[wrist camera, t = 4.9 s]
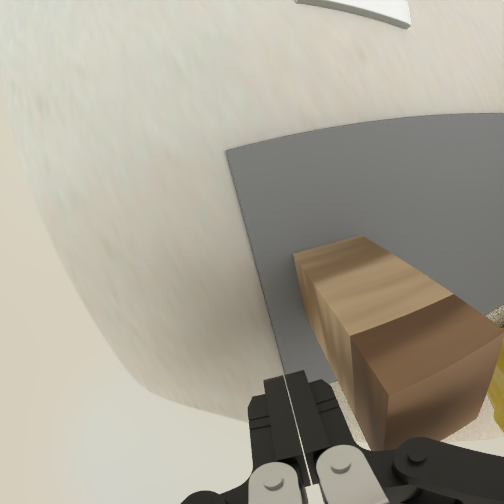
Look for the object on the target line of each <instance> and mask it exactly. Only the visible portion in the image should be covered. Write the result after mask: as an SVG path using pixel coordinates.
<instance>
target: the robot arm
mask: <svg viewBox="0 0 504 504" xmlns="http://www.w3.org/2000/svg"><path fill="white" fill-rule="evenodd" d="M285 378H286V382H287V386H288V390H289V394H290V398H291V402H292V406H293V410H294V414H295V418H296V422H297V425H298V429H299V433H300V437H301V441H302V445H303V449H304V453H305V457H306V461H307V464H308V468H309V472H310V476H311V479H312V483H313V484H318V483H319V486H320V489H321V493H322V497H323V502H324V504H504V457H501V456H496V455H491V454H487V453H482V452H478V451H474V450H470V449H465V448H462V447H458V446H454V445H451V444H447V443H444V442H440V441H437V440H433V439H430V438H426V437H414V438H411V439H408V440H406V441H404V442H403V443H402V444H401V445H400V446H399V447H398V448H397V449H393V450H384V451H369V450H366V449H363V448H361V447H360V446H359V445H357V444H356V442H355V441H354V439H353V437H352V435H351V432H350V430H349V428H348V425H347V423H346V420H345V418H344V416H343V413H342V411H341V408H340V407H339V404H338V401H337V399H336V397H335V394H334V392H333V390H332V387H331V386H330V385H329V384H327V383H326V382H325V381H324V380H322V379H320V380H316V381H313V382H309V383H308V380H307V377H306V374H305V371H304V370H301V371H297V372H293V373H290V374H286V375H285ZM264 388H265V394H263V395H259V396H254V397H252V399H251V401H250V404H249V406H248V418H249V427H250V439H251V448H252V458H253V470H252V473H251V475H250V477H249V478H248V479H247V481H246V482H245V483H243V484H242V485H240V486H239V487H237V488H234V489H232V490H230V491H227V492H225V493H222V494H217V493H215V492H212V491H199V492H195V493H193V494H191V495H189V496H188V497H187V498H186V499H185V500H184V501H183V502H182V503H181V504H308V498H307V494H306V489H305V487H306V486H310V485H311V484H310V480H309V476H308V472H307V468H306V464H305V460H304V456H303V451H302V447H301V444H300V440H299V435H298V431H297V427H296V423H295V419H294V415H293V412H292V408H291V404H290V400H289V396H288V393H287V389H286V385H285V381H284V378H283V375H282V376H279V377H275V378H270V379H266V380H264Z"/></svg>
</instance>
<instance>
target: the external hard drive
mask: <svg viewBox="0 0 504 504" xmlns="http://www.w3.org/2000/svg"><path fill="white" fill-rule="evenodd" d="M295 2H296V3H301V4H308V5H314V6H320V7H326V8H331V9H336V10H340V11H345V12H349V13H353V14H358V15H361V16H365V17H369V18H373V19H376V20H379V21H383V22H386V23H389V24H392V25H395V26H398V27H401V28H404V29H407V28H409V27H411V25H412V24H411V18H410V12H409V7H408V2H407V0H295Z"/></svg>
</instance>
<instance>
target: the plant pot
mask: <svg viewBox="0 0 504 504" xmlns="http://www.w3.org/2000/svg"><path fill="white" fill-rule="evenodd" d="M501 329H503V330H504V327H502V328H501ZM487 396H488V398H489V400H490V402H491V404H492V406H493V408H494V410H495V411H494V420H495V421H496V423H497V424H498V425H499V427H500V428H501V429H502V431H503V432H504V338H503V342H502V346H501V350H500V354H499V357H498V361H497V364H496V367H495V370H494V373H493V377H492V380H491V382H490V385H489V388H488V391H487Z"/></svg>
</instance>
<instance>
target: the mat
mask: <svg viewBox="0 0 504 504" xmlns="http://www.w3.org/2000/svg"><path fill="white" fill-rule="evenodd" d="M226 153H227V157H228V161H229V164H230V168H231V172H232V176H233V179H234V183H235V187H236V191H237V194H238V198H239V202H240V206H241V209H242V213H243V217H244V221H245V224H246V228H247V232H248V236H249V239H250V243H251V247H252V251H253V254H254V258H255V262H256V266H257V269H258V273H259V277H260V281H261V284H262V288H263V292H264V296H265V299H266V303H267V307H268V311H269V314H270V318H271V322H272V326H273V330H274V333H275V337H276V341H277V345H278V348H279V352H280V356H281V360H282V363H283V367H284V371H285V375H286V374H290V373H293V372H297V371H301V370H304V371H305V374H306V377H307V380H308V383H309V382H313V381H316V380H320V379H322V380H324V381H325V382H326V383H327V384H329V383H332V382H335V381H337V379H336V377H335V375H334V372H333V370H332V368H331V366H330V364H329V362H328V360H327V358H326V356H325V354H324V352H323V350H322V348H321V346H320V344H319V342H318V340H317V338H316V336H315V334H314V332H313V330H312V328H311V326H310V324H309V322H308V320H307V318H306V315H305V310H304V305H303V300H302V295H301V290H300V285H299V281H298V276H297V271H296V267H295V262H294V257H293V254H294V253H298V252H301V251H305V250H308V249H312V248H316V247H319V246H323V245H326V244H330V243H334V242H337V241H341V240H344V239H348V238H351V237H355V236H358V235H362V236H364V237H366V238H367V239H369V240H371V241H372V242H374V243H376V244H377V245H379V246H380V247H382V248H384V249H385V250H387V251H389V252H390V253H392V254H393V255H395V256H397V257H398V258H400V259H401V260H403V261H405V262H406V263H408V264H409V265H411V266H412V267H414V268H416V269H417V270H419V271H420V272H422V273H423V274H425V275H426V276H428V277H429V278H431V279H432V280H434V281H435V282H437V283H438V284H440V285H441V286H443V287H444V288H446V289H447V290H449V291H450V292H452V293H453V294H454V295H456V296H457V297H459V298H460V299H462V300H463V301H464V302H466V303H467V304H469V305H470V306H472V307H473V308H474V309H476V310H477V311H478V312H480V313H481V314H483V315H484V316H485V315H487V314H489V313H490V312H492V311H494V310H495V309H497V308H499V307H500V306H502V305H504V114H500V113H478V114H447V115H431V116H418V117H406V118H397V119H388V120H379V121H371V122H364V123H357V124H350V125H344V126H337V127H331V128H326V129H320V130H314V131H309V132H304V133H299V134H294V135H289V136H284V137H280V138H275V139H271V140H266V141H262V142H258V143H254V144H249V145H245V146H241V147H237V148H234V149H230V150H226Z"/></svg>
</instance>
